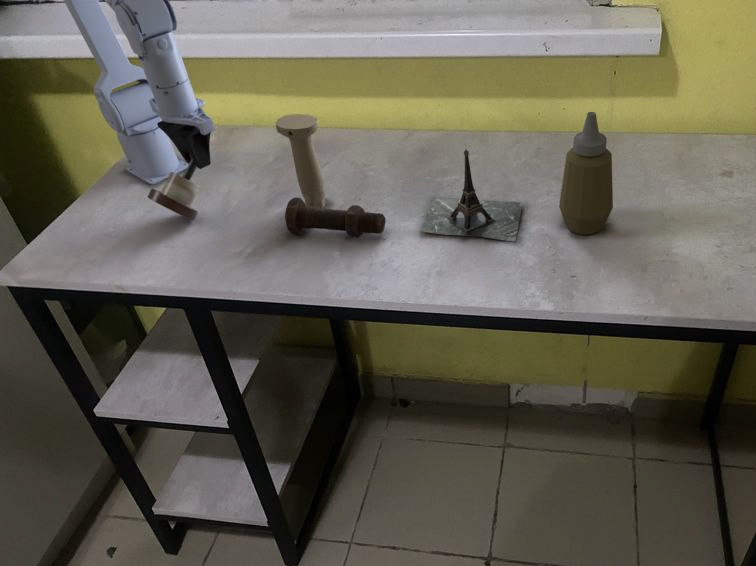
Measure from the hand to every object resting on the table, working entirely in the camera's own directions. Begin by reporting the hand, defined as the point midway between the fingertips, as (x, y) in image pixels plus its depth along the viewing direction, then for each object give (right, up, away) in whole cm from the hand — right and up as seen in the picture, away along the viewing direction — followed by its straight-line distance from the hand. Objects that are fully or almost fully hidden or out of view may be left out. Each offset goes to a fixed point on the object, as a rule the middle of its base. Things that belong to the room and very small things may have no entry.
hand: (198, 163), depth 114 cm
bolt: (+23, -12, -3) cm, 26 cm away
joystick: (0, -3, +3) cm, 4 cm away
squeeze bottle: (+62, -11, -6) cm, 63 cm away
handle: (+18, -7, +3) cm, 20 cm away
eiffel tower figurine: (+44, -10, -3) cm, 46 cm away
